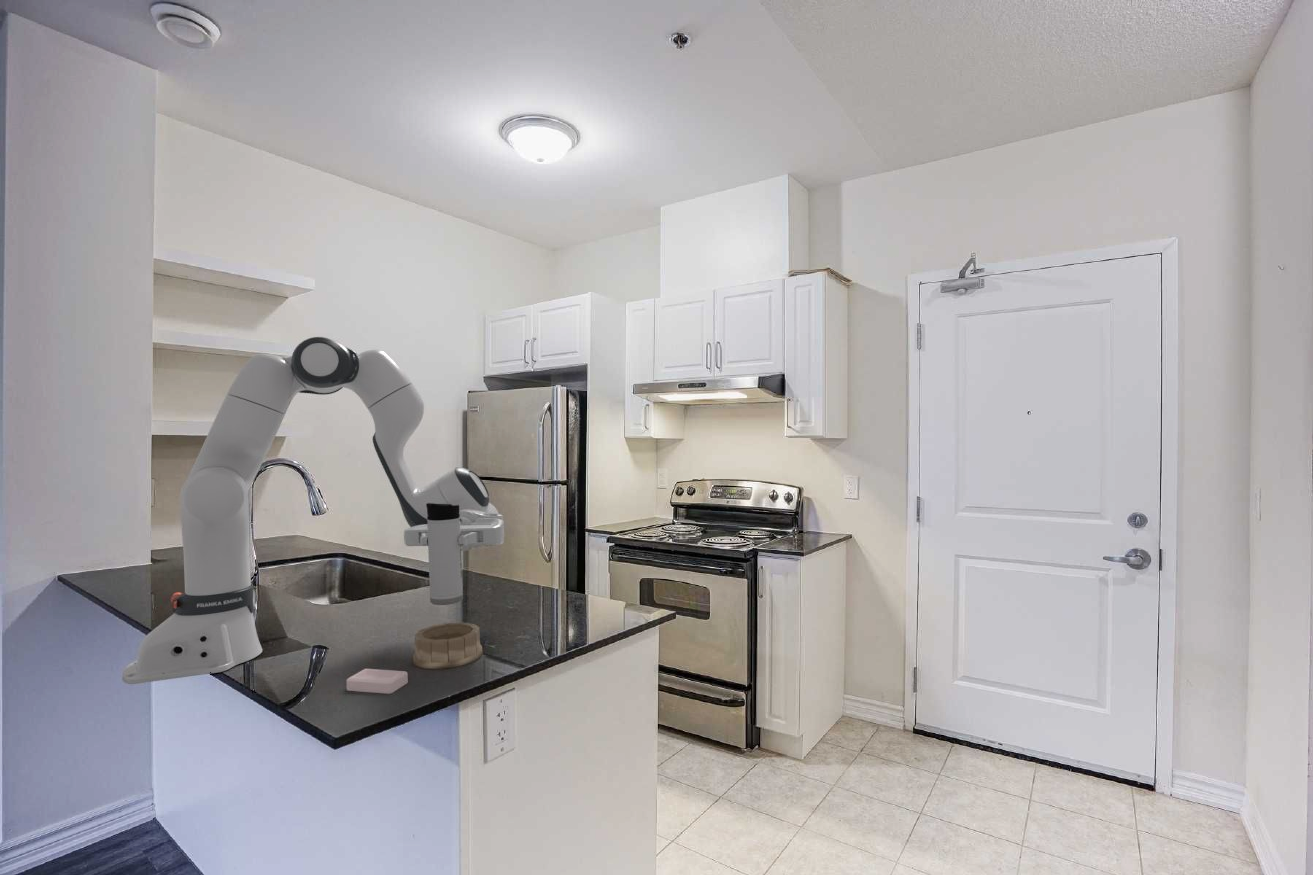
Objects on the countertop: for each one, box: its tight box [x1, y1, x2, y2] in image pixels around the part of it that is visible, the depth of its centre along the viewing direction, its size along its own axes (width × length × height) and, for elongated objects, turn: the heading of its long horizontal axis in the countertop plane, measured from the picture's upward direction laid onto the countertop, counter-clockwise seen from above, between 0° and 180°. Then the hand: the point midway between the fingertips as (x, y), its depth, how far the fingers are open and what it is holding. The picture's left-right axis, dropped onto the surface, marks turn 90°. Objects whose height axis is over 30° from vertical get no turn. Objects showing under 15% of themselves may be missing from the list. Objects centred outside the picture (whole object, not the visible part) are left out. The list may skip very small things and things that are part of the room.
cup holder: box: [412, 621, 483, 670], centre depth 129 cm, size 13×13×5 cm
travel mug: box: [426, 503, 464, 606], centre depth 129 cm, size 6×7×20 cm
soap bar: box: [346, 668, 409, 695], centre depth 115 cm, size 5×9×2 cm, turn 77°
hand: (442, 541), depth 128 cm, fingers closed on travel mug, 6 cm apart
